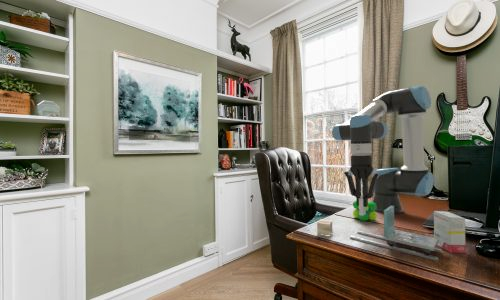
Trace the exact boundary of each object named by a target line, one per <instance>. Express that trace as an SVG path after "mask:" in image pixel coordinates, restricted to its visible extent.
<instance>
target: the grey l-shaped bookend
mask: <svg viewBox="0 0 500 300" xmlns="http://www.w3.org/2000/svg"><path fill="white" fill-rule="evenodd" d="M383 236H384V239H385V240H386V243H387V245H389V246H395V245H396V243H397V242H398V243H397V244H401V243H402V245H406V244H407V245H406V246H410V245H411V247H414V246H415V247H416V248H418V247H419V249H421V251H422V252H421V253H423V254H425V255H431V253H432V252H435V251H434V250H435V248H437V246H438V245H437V243H438V238H434V236H428V235H424V234H417V233H413V232H408V231H403V230H398V229H395V213H394V206H390V207H388V208H387V209H385V210H384V212H383ZM384 239H383V240H384ZM422 248H423V249H422ZM431 250H432V251H431Z"/></svg>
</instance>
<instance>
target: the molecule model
mask: <svg viewBox="0 0 500 300" xmlns="http://www.w3.org/2000/svg"><path fill="white" fill-rule="evenodd" d="M352 206H353V208H354V210H353V212H352V214H353V217H355V219H359V220H360V221H362V222H366V221H367V220H370V221H375V220H377V217H378V215H377V213H376V211H375V210H376V208H377V206H376V204H375V203H374V202H372V201H369V200H368V206H367V207H366V214H365V215H363V216H362V215H359V206H357V200H354V201H353V202H352Z"/></svg>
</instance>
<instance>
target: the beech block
mask: <svg viewBox="0 0 500 300" xmlns="http://www.w3.org/2000/svg"><path fill="white" fill-rule="evenodd" d="M316 225H317V226H316V229H317V230H316V235H317V234H323V235H331V236H332V234H333V220H326V219H319V220H318V221H317V222H316ZM331 233H332V234H331Z"/></svg>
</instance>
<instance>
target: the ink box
mask: <svg viewBox="0 0 500 300" xmlns="http://www.w3.org/2000/svg"><path fill="white" fill-rule="evenodd" d="M433 228H434V229H433V237H434V238H438V243H437V245H436V246H439V247H440V248H442V249H444V250H445V251H447V252H449V253H451V254H453V253H454V254H466V218H465V217H462V216H459V215H457V214H455V213H452V212H449V211H442V210H441V211H440V210H439V211H438V210H434V211H433Z"/></svg>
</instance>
